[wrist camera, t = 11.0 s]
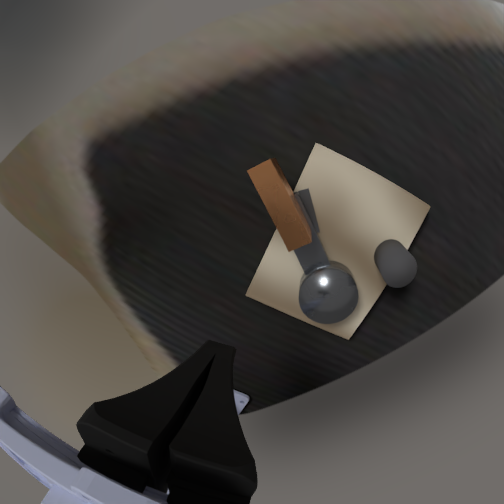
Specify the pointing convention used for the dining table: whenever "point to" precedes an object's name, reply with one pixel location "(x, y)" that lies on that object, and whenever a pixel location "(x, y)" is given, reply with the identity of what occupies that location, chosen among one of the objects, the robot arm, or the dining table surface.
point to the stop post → (395, 263)
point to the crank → (306, 249)
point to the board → (340, 234)
